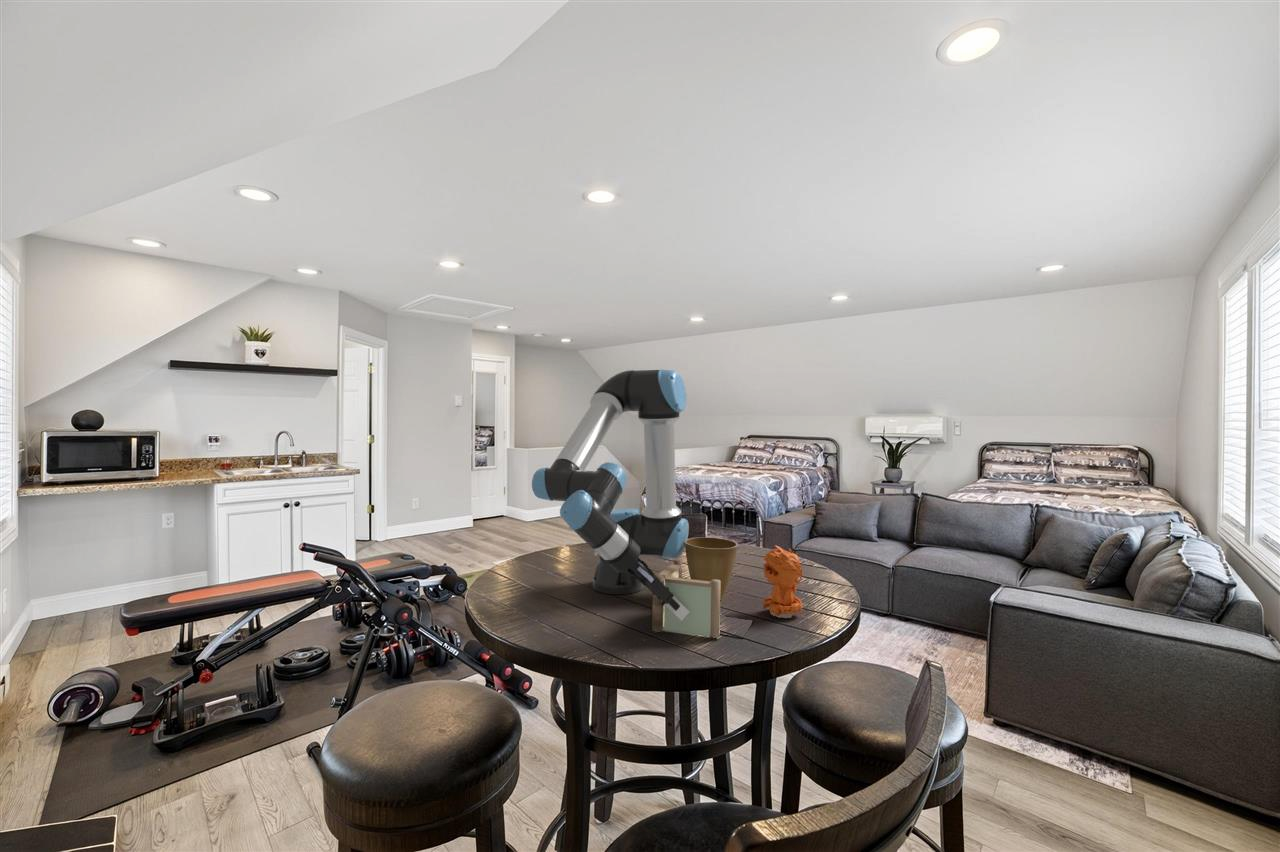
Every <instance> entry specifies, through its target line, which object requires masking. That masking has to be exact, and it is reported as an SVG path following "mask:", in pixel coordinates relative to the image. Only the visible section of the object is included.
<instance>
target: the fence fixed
mask: <svg viewBox="0 0 1280 852" xmlns="http://www.w3.org/2000/svg"><path fill="white" fill-rule="evenodd" d="M654 575H655V576H656V577H657V578H658V579H659V580H660V581H661V582H662V583H663V585H664V586H665V578H666V577H674V578H683V560H681V559H673V563H672V564H671V565H669V566H668V567H667V568H665V569H664V570H661V572H659V573H658V574H654ZM661 602H662V600H660V599H658V597H657V596H656V595H654V594H653V593H652V608H651V609H652V612H651V613H652V615H651V617H652V618H651V619H652V620H651V623H652V625H651V626H652V627H651V630H652V631H651V632H653V631H655V632H654V633H656V632H660V633H662V632H661V631H664V628H663V627H664V611H665V605H664V606H663V605H661V604H660V603H661Z"/></svg>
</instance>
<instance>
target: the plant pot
mask: <svg viewBox="0 0 1280 852" xmlns="http://www.w3.org/2000/svg"><path fill="white" fill-rule="evenodd" d="M684 550H685V556H686V562H687V563H686V564H687V569H688V572H689V579H692V580H701V581H710V582H711V580H713V579H717V580H720V581H721V589H720V599H722V600H723V598H724V596H725V594H726V591H727V589H728V586H729V583H730V580H731V577H732V572H733V569H734V566H735V565H734V564H735V561H736V555H737V550H738V543H737V542H736V541H733V540H730V539H726V538H720V537H711V536H709V537H707V536H705V537H704V536H703V537H701V536H700V537H691V538H688V539H687V540H685V549H684Z"/></svg>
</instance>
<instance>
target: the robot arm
mask: <svg viewBox="0 0 1280 852" xmlns="http://www.w3.org/2000/svg"><path fill="white" fill-rule="evenodd" d="M685 385H686V384H685V382H684V380H683V378H682V376H681V374H680V373H679V372H678V371H676V370H673V369H663V368H661V369H645V370H643V369H641V370H634V369H631V370H629V369H628V370H625V371H622V372H618V373H617V374H615V375H613V376H611V377H610V378H609V379H607V380H605V382H603V383H602V384H601V385H600V386H599V387H598V388H597V390H596V391H595V392H594V393H593V395H592V396H591V399H590V405H589V406H590V407H589V408H588V409H587V411H586V412H585V414H584V416H583V417H582V419H580V421H579V423H578V425H577V426H576V428H575V429H574V431H573V433H572V434H571V435H570V437H569V438H568V440H567V442H566V443H565V444H564V446H563V448H562V449H561V451H560V453H559V454H558V455H557V457H556V459H555V460H554V461H553V463H552V464H551V466H550V467H541V468H539V469H537V470H536V471H534V473H533V475H532V479H531V488H532V492H533V494H534V496H535V497H536V498H538V499H541V500H545V501H546V500H547V501H549V502H553V501H554V502H555V501H556V502H563V503H562V505H561V507H560V509H559V516H560V517H561V519H562V520H563V521H564V522H565V523H566V525H568V527H569V528H570V530H573V531H574V532H575V533H576V534H577V535H578V536H579V538H581V539H582V540H583V541H584V542H585V543H586V544H588V545H589V547H590V548H591V549H593V550H594V553H593V554H594V556H596V557H597V556H598V557H599V558H598V564H597V566H596V569H595V572H594V576H593V578H592V588H593V590H595V591H596V592H598V593H599V592H600V593H602V594H606V595H607V594H609V595H629V594H630V595H631V594H634V593H638V592H639V591H642V590H643V588H644V586H645V587H646V588H647V589H648V590H649V591H650V592H651V593H652V595H653V594H654V595H656V596H657V597H658V599H660V600H662V602H661V603H660V604H661V605H663V606H664V605H666V606H667V607H668V608H669V609H670V610H671V611H672V612H673V613H674V614H675V615H676V616H677V617H678V618H679V619H680V620H681V621H682V620H683V619H684V618H685V617H686V615H687V614H688V613H689V611H688V610H687V609H686V608H685V607H684V606H683V605H682V604H681V603H680V602H679V601H678V600H677V599H676V598H675V597H674V595H673V593H671V592H670V591H669V588H668V587H665V586H664V585H663V583H662V582H661V581H660V580H659V579H658V578H657V577H656V576H655V575H656V574H655V573H654V572H653V571H652V570H651V569H650V568H649V566H648V564H647V562H645V561H644V560H642V559H641V558H639V557H640V556H644V557H652V558H658V559H659V558H661V559H663V560H666V559H670V560H677V559H679V558H680V557H681V555H682V554H683V553H684V550H685V540H687V539H689V530H690V529H689V528H690V526H689V525H690V524H689V521H688V519H686V518H682V510H681V509H680V508H679V507H678V506H677V496H676V495H677V494H676V491H677V489H676V449H675V448H676V446H675V445H676V443H675V424H676V422H677V421H678V420H679V419H680V413H682V412H683V411H685V408H686V406H687V390H686V386H685ZM625 412H637V413H638V415H637V417H638V418H637V419H638V420H639V421H640V422H641V423H642V424H643V435H644V436H643V438H644V439H643V440H644V441H643V443H644V472H645V475H644V478H645V506H644V508H643V509H642V510H641V513H640V510H639V509H638V508H620V509H614V507H615V506H616V504H617V502H618V501H619V498H620V497H621V495H622V494H623V492H624V489H625V486H626V484H627V480H628V478H627V476H628V475H627V473H626V472H625V470H624V469H623V468H622V467H621V466H620V465H619V464H617V463H614V462H604V463H601V464H600V465H599V467H597V468H596V471H594V470H586V469H587V467H588V466H589V463H590V462H591V460H592V458H593V457H594V455H595V454H596V452H597V450H598V448H599V447H600V445H601V443H602V442H603V440H604V438H605V436H606V435H607V433H608V431H609V429H610V428H611V427H612V424H613V422H614V421H616V420H618V419H619V418H621V416H622V414H623V413H625Z"/></svg>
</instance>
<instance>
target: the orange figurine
mask: <svg viewBox="0 0 1280 852" xmlns="http://www.w3.org/2000/svg"><path fill="white" fill-rule="evenodd" d="M774 546H775V548H773V549H770V550H769V551H768V552H766V553H765V556H764V557H763V560H764V561H765V562H763V563H762V566H763V574H764V578H766V580H767V582H768V583H769V584H771V585H773V586H772V592H771V593H770V595H767V597H766V598H765V599H764V601H763V604H762V607H763V610H765V609H767V608H768V607H769V609H768V610H769V614H770V616H772V614H771V612H773V613H775V615H777V616H779V615H781V614H792V615H793V613H794V615H796V613H800V612H802V610H803V607H804V603H803V601H802V600H801V599H800V598H799V597H798V596H795V593H796V591H797V584H798V585H799V584H800V583H801V581H802V579H803V568H802V567H803V566H802V565H801V562H800V559H799V556H798V555H797V554H796V553H794V552H793V551H792V549H791V548H790V547H789V551H787V550H785V549H783V548H782V547H781V546H778V545H776V544H775V545H774Z"/></svg>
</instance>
